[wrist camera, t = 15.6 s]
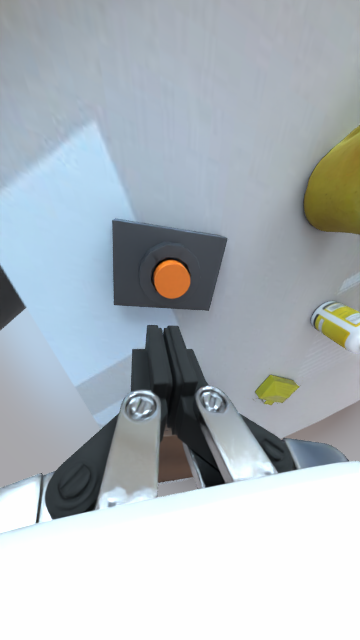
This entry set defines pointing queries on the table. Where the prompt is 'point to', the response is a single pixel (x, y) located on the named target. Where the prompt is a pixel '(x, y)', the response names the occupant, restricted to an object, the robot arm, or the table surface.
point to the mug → (336, 188)
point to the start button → (171, 279)
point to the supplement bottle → (339, 324)
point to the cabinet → (172, 458)
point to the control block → (155, 247)
